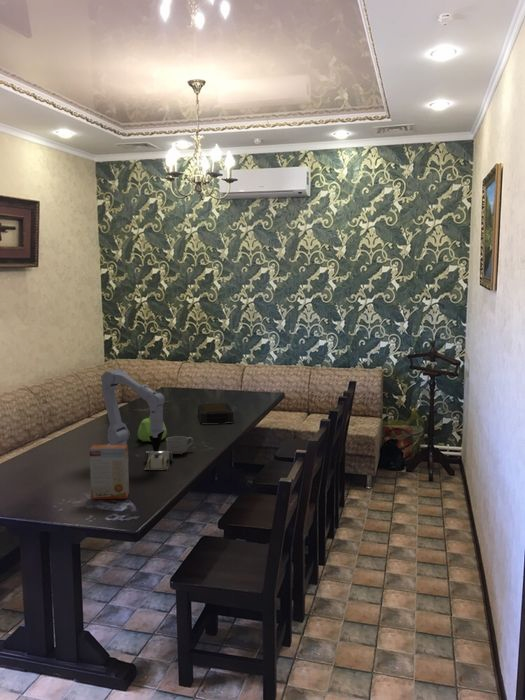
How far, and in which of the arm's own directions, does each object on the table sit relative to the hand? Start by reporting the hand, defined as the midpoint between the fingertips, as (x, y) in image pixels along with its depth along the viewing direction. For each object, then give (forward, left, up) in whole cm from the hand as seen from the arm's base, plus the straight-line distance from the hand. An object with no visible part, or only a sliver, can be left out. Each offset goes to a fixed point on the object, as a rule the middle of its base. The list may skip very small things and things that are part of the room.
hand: (156, 448), depth 268 cm
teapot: (-8, +46, -9) cm, 48 cm away
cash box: (+26, +91, -10) cm, 95 cm away
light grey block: (0, 0, -9) cm, 9 cm away
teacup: (+9, +22, -9) cm, 26 cm away
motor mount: (0, +3, -9) cm, 10 cm away
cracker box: (-15, -35, -9) cm, 39 cm away
